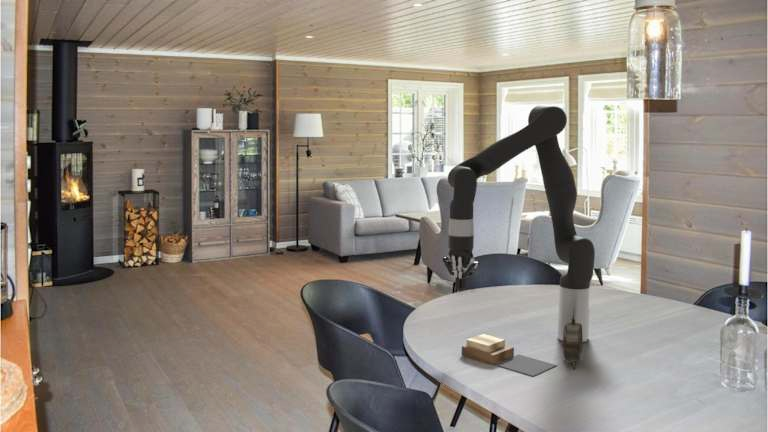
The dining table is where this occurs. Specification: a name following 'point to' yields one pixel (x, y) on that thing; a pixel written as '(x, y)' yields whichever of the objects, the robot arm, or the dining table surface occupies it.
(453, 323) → the dining table surface
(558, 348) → the dining table surface
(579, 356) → the alarm clock
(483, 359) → the board
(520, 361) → the mat
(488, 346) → the coaster
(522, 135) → the robot arm
